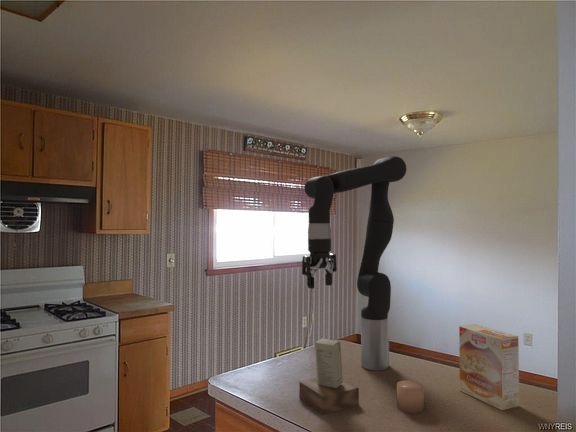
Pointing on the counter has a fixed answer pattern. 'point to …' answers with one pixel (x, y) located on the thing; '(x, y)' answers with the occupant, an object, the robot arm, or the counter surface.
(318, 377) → the skincare box
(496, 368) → the coffeecake box
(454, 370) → the counter surface
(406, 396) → the pink rounded knob
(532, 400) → the counter surface
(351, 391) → the walnut block
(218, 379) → the counter surface
